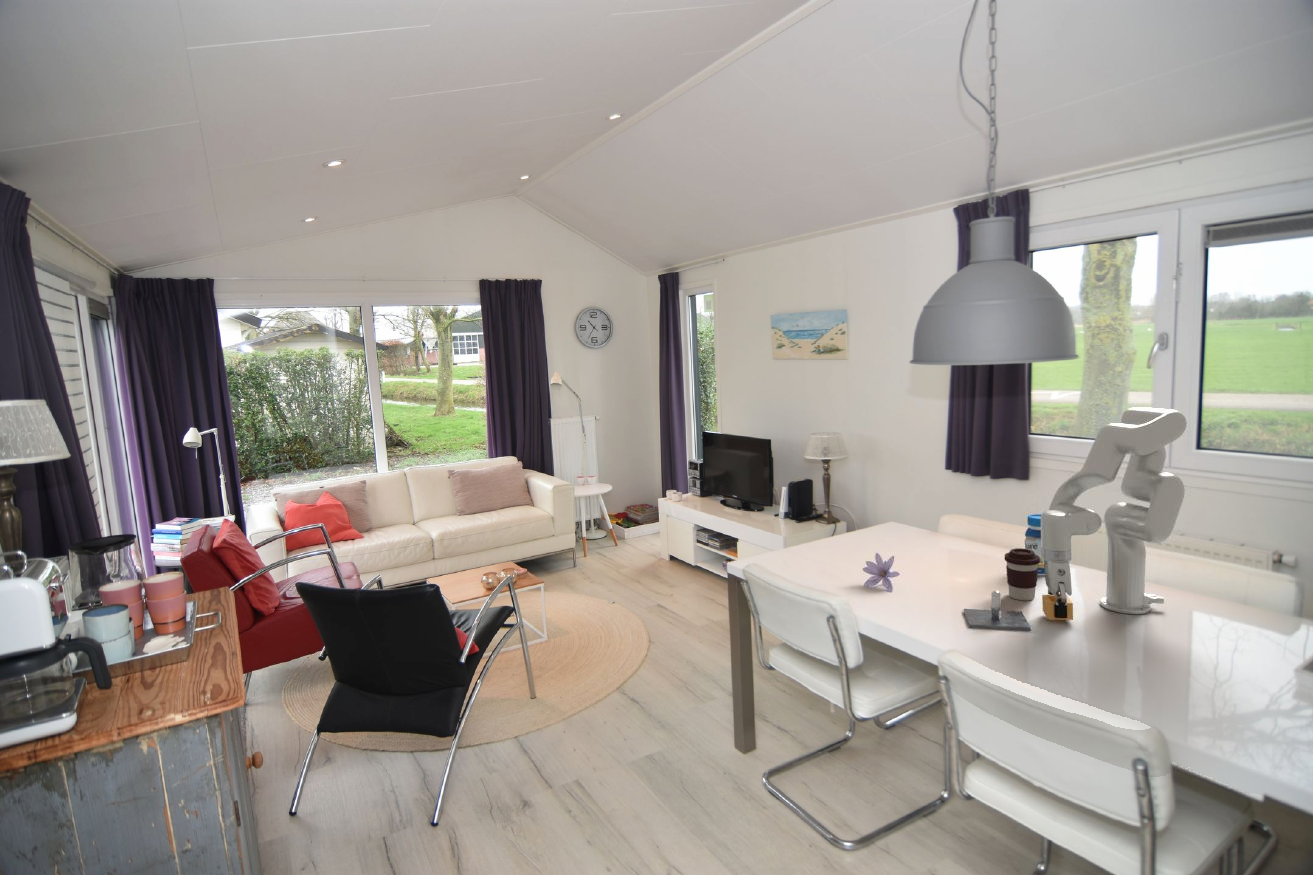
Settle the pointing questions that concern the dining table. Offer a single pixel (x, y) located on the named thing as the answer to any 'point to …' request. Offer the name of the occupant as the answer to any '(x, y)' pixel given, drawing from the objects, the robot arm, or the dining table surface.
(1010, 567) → the coffee cup
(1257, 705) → the dining table surface
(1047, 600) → the orange hollow square block
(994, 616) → the keeper
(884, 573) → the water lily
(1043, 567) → the beverage bottle
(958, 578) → the dining table surface
